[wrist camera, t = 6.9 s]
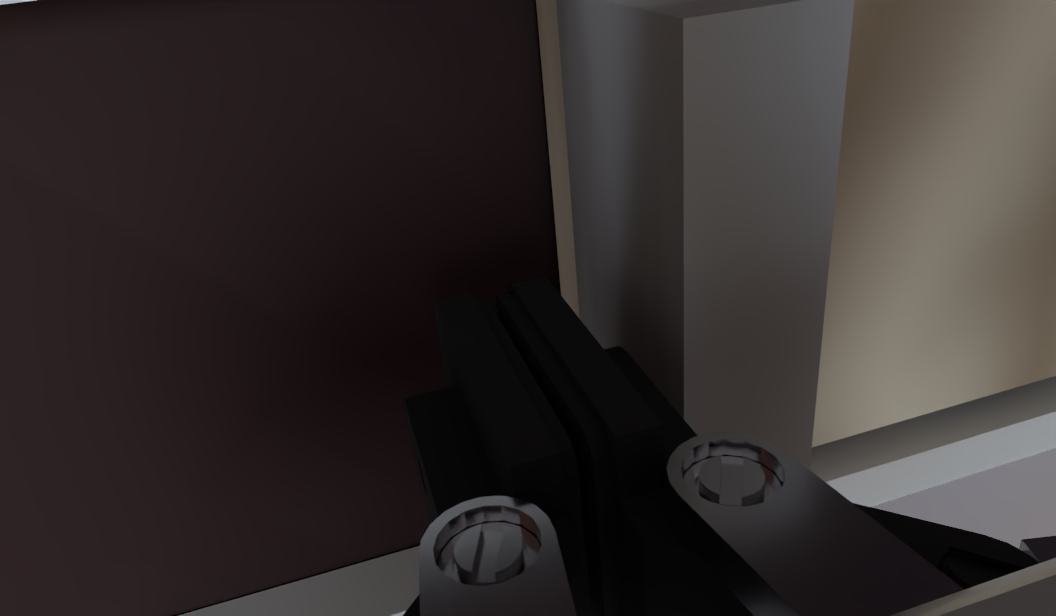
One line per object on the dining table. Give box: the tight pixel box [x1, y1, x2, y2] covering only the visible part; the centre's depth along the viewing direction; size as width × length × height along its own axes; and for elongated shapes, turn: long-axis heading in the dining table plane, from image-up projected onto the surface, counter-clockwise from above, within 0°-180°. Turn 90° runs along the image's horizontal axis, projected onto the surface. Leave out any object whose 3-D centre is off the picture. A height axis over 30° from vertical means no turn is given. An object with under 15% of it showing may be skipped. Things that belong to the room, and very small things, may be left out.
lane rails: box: [0, 0, 1056, 616], centre depth 15 cm, size 26×14×2 cm, turn 96°
